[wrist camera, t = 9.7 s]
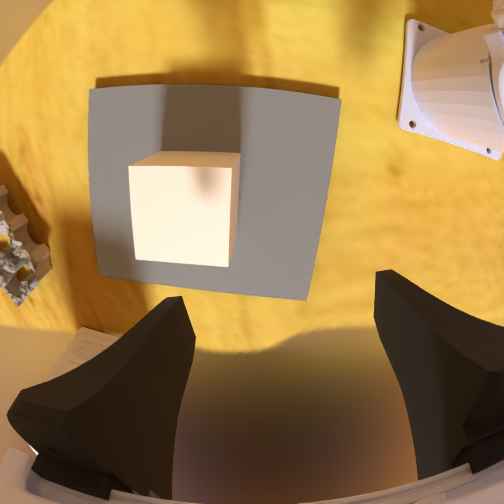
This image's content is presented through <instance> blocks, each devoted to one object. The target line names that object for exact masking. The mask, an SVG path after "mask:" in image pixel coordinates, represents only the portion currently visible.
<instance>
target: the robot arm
mask: <svg viewBox="0 0 504 504" xmlns="http://www.w3.org/2000/svg"><path fill="white" fill-rule="evenodd" d="M490 15H491V18H492V19H493V21H494V22H495V23H491V24H487V25H482V26H478V27H474V28H471V29H467V30H463V31H459V32H456V33H452V34H450V33H448V32H445V31H443V30H441V29H438V28H436V27H433V26H431V25H428V24H426V23H423V22H421V21H418V20H415V19H410V20H408V21H407V22H406V36H405V52H404V65H403V76H402V86H401V95H400V103H399V111H398V118H397V124H398V126H399V127H400V128H401V129H403V130H407V131H411V132H414V133H418V134H421V135H425V136H428V137H432V138H435V139H438V140H441V141H445V142H448V143H451V144H454V145H457V146H460V147H463V148H466V149H468V150H471V151H474V152H477V153H479V154H482V155H485V156H487V157H490V158H492V159H495V160H499V159H500V158H501V155H502V152H503V153H504V0H493V9H492V10H491V12H490ZM418 25H419V26H421V28H422V31H420V30H419V29H418ZM410 121H413V123H414V125H413V127H412V128H411V127H410V126H409V122H410ZM487 148H488V152H487ZM374 320H375V323H376V327H377V330H378V333H379V337H380V339H381V342H382V344H383V347H384V349H385V351H386V354H387V356H388V358H389V361H390V363H391V365H392V367H393V370H394V372H395V375H396V377H397V379H398V382H399V385H400V387H401V390H402V393H403V397H404V401H405V405H406V409H407V413H408V417H409V422H410V427H411V431H412V436H413V442H414V449H415V455H416V464H417V474H418V481H416V482H413V483H409V484H406V485H402V486H398V487H394V488H390V489H386V490H382V491H378V492H373V493H368V494H363V495H358V496H353V497H347V498H341V499H334V500H328V501H320V502H311V503H300V504H504V327H502V326H499V325H496V324H493V323H490V322H487V321H484V320H481V319H479V318H476V317H474V316H471V315H469V314H467V313H465V312H463V311H461V310H458V309H456V308H454V307H452V306H450V305H449V304H447V303H445V302H443V301H441V300H440V299H438V298H436V297H435V296H433V295H431V294H430V293H428V292H426V291H425V290H423V289H422V288H420V287H418V286H417V285H415V284H414V283H412V282H411V281H409V280H408V279H406V278H405V277H403V276H401V275H400V274H398V273H397V272H395V271H393V270H391V269H390V270H384V271H377V272H376V280H375V302H374ZM195 341H196V336H195V333H194V331H193V328H192V325H191V322H190V319H189V316H188V313H187V310H186V307H185V304H184V301H183V298H182V296H176V297H167V298H166V299H164V300H163V301H162V302H160V303H159V304H158V305H157V306H156V307H155V308H154V309H152V310H151V311H150V312H149V313H148V314H147V315H146V316H145V317H144V318H143V319H141V320H140V321H139V322H138V323H137V324H136V325H135V326H134V327H133V328H131V329H130V330H129V331H128V332H127V333H125V334H124V335H123V336H122V337H121V338H119V339H118V340H117V341H116V342H114V343H113V344H112V345H111V346H109V347H108V348H106V349H105V350H104V351H102V352H101V353H99V354H98V355H96V356H95V357H93V358H92V359H90V360H88V361H87V362H85V363H83V364H81V365H80V366H78V367H76V368H74V369H73V370H71V371H69V372H67V373H65V374H63V375H61V376H58V377H56V378H54V379H51V380H49V381H46V382H44V383H41V384H38V385H35V386H32V387H30V388H27V389H23V390H21V391H20V393H19V394H18V396H17V398H16V399H15V401H14V402H13V404H12V406H11V407H10V409H9V410H8V412H7V417H8V420H9V422H10V424H11V426H12V427H13V428H14V429H15V431H16V432H17V433H18V434H19V435H20V436H21V437H22V438H23V439H24V440H25V441H26V442H27V443H28V444H29V445H30V446H31V447H32V448H33V449H34V450H35V451H36V452H37V453H38V455H37V457H36V459H34V458H33V457H31V456H30V455H28V454H26V453H23V452H21V451H18V450H16V449H14V448H9V450H8V451H7V454H6V455H5V457H4V459H3V461H2V463H1V465H0V504H199V503H188V502H179V501H172V470H173V454H174V443H175V434H176V427H177V420H178V414H179V408H180V405H181V401H182V398H183V394H184V390H185V387H186V383H187V380H188V376H189V372H190V369H191V365H192V361H193V356H194V349H195Z"/></svg>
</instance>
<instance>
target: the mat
mask: <svg viewBox="0 0 504 504" xmlns="http://www.w3.org/2000/svg"><path fill="white" fill-rule="evenodd" d="M340 107H341V99H337V98H331V97H326V96H320V95H314V94H307V93H300V92H293V91H285V90H277V89H268V88H257V87H246V86H231V85H210V84H152V85H132V86H117V87H106V88H96V89H90V90H89V113H88V163H89V186H90V201H91V214H92V224H93V234H94V242H95V250H96V258H97V265H98V271H99V276H104V277H111V278H118V279H124V280H131V281H138V282H145V283H152V284H160V285H167V286H175V287H182V288H190V289H198V290H207V291H215V292H224V293H233V294H242V295H251V296H261V297H271V298H282V299H292V300H304V301H306V300H307V296H308V291H309V287H310V282H311V278H312V273H313V268H314V263H315V258H316V253H317V248H318V243H319V238H320V233H321V228H322V222H323V217H324V211H325V206H326V200H327V194H328V188H329V182H330V176H331V170H332V164H333V157H334V150H335V144H336V137H337V130H338V122H339V115H340ZM160 151H201V152H229V153H241V160H240V179H239V200H238V222H237V233H236V237H235V241H234V245H233V249H232V254H231V258H230V262H229V266H228V267H221V266H208V265H196V264H184V263H172V262H160V261H148V260H137V259H136V257H135V248H134V239H133V228H132V217H131V204H130V188H129V166H130V165H132V164H134V163H136V162H138V161H140V160H142V159H144V158H147V157H149V156H151V155H153V154H155V153H158V152H160Z"/></svg>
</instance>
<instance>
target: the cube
mask: <svg viewBox="0 0 504 504" xmlns="http://www.w3.org/2000/svg"><path fill="white" fill-rule="evenodd" d="M240 160H241V153H229V152H201V151H160V152H158V153H155V154H153V155H151V156H149V157H147V158H144V159H142V160H140V161H138V162H136V163H134V164H132V165H130V166H129V188H130V204H131V217H132V228H133V239H134V248H135V257H136V259H137V260H148V261H160V262H172V263H184V264H196V265H208V266H221V267H228V266H229V262H230V258H231V254H232V249H233V245H234V241H235V237H236V233H237V222H238V200H239V179H240Z"/></svg>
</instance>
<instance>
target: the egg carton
mask: <svg viewBox="0 0 504 504" xmlns="http://www.w3.org/2000/svg"><path fill="white" fill-rule="evenodd" d="M8 194H9V192H8V190H7V188H6V187H5V185H4V184H3V185H1V186H0V234H2V235H7V234H8V235H9V237H10V238H11V240H10V245H9V246H8V247H6V248H5V249H3V250H2V251H1V252H0V287H1V288H2V289H3V290H5V291H6V292H7V294H9V295H11V299H12V300H13V302H14V303H15V305H17V307H18V306H19V305H20V304H22V303H23V302H24V299H26V298H27V296H28V295H29V294H30V293H31V291H33V290H34V289H35V288H36V287H37V285H38V284H37V283H39V282H40V281H41V280H42V279H43V278H44V277H45V276H46V275H47V274H48V273H49V272H50V271H51V270H52V269H53V268H52V266H51V264H50V261H49V254H50V252H51V251H50V249H49V248H48V247H47V245H46V244H45V243H43V244H36V243H34V242H33V241H32V240H31V238H30V237H29V235H28V231H27V226H28V222H29V221H28V220H27V218H26V217H25V215H24V214H23V213H22V214H20V215H16V214H14V213H13V212H12V211H11V210H10V208H9V206H8V201H7V199H8ZM10 229H11V231H12V232H9V230H10ZM25 264H27V266H28V268H29V269H32V270H33V272H32V273H30V274H29V275H28V276H27V277H26V278H25V279H24V280H22V281H21V282H20V281H19V279H18V278H17V271H18V270H19V269H20V268H21V267H22V266H23V265H25ZM22 268H23V267H22Z"/></svg>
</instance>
